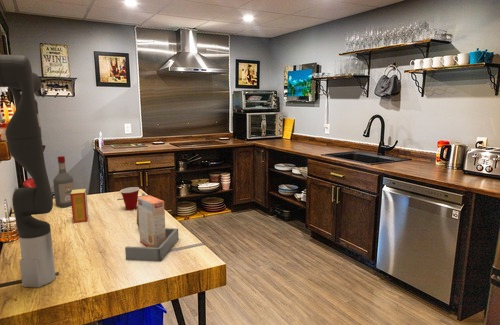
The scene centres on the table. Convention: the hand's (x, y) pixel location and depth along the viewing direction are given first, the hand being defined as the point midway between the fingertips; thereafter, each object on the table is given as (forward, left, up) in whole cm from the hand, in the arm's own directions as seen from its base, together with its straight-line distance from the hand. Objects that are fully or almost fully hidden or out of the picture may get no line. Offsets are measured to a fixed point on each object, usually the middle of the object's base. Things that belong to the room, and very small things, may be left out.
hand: (34, 170), depth 134 cm
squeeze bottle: (+32, -30, -35) cm, 56 cm away
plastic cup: (+63, -8, -35) cm, 73 cm away
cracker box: (+14, -41, -35) cm, 56 cm away
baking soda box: (+42, +10, -35) cm, 56 cm away
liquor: (+66, +35, -35) cm, 83 cm away
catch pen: (+10, -43, -35) cm, 56 cm away
